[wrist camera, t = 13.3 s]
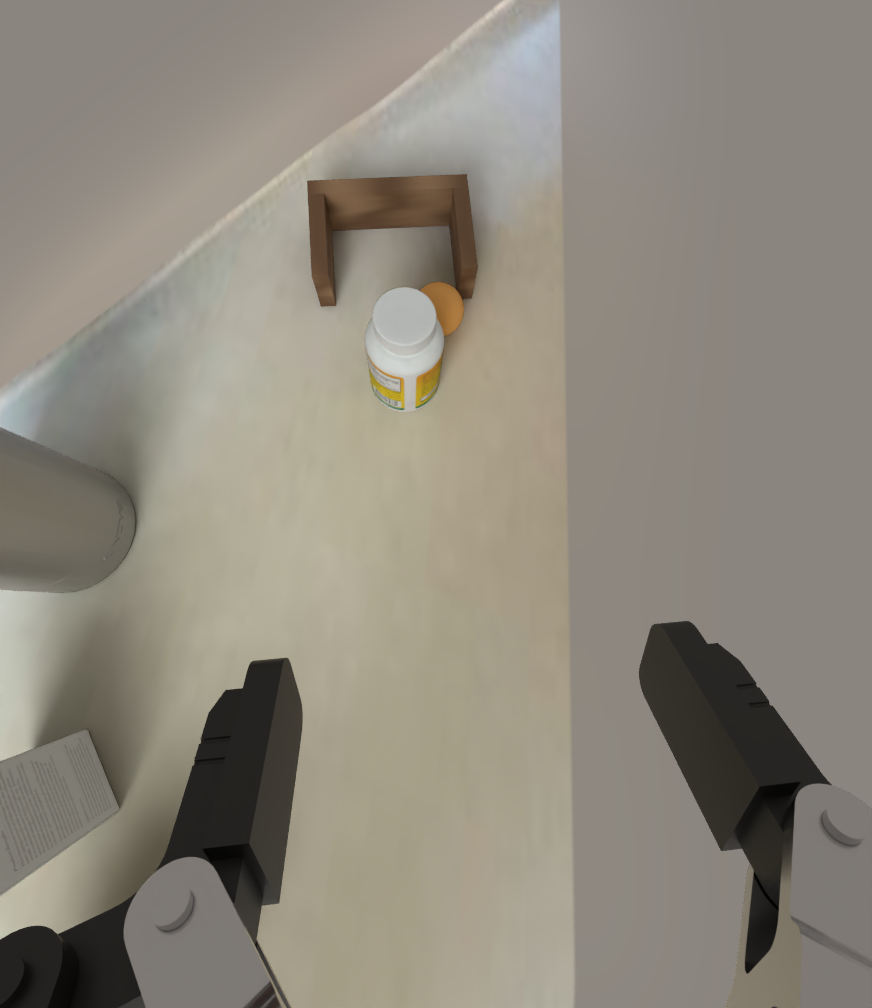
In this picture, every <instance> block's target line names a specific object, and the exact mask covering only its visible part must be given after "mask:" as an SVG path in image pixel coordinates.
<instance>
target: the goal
mask: <svg viewBox="0 0 872 1008" xmlns="http://www.w3.org/2000/svg"><path fill="white" fill-rule="evenodd" d="M307 185H308V206H309V227H310V248H311V269H312V278H313V281H314V284H315V288H316V291H317V294H318V298H319V301H320V304H321V306H336V298H335V280H334V263H333V245H332V231H336V230H358V229H380V228H401V227H423V226H445V225H449V226H450V235H451V245H452V254H453V263H454V273H455V282H456V290H457V291H458V293H459V294H460V296H461V298H462V299H465V298H472V294H473V288H474V283H475V278H476V273H477V267H478V266H477V258H476V249H475V241H474V232H473V224H472V215H471V207H470V198H469V190H468V181H467V174H463V175H438V176H413V177H389V178H364V179H339V180H314V181H307Z"/></svg>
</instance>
